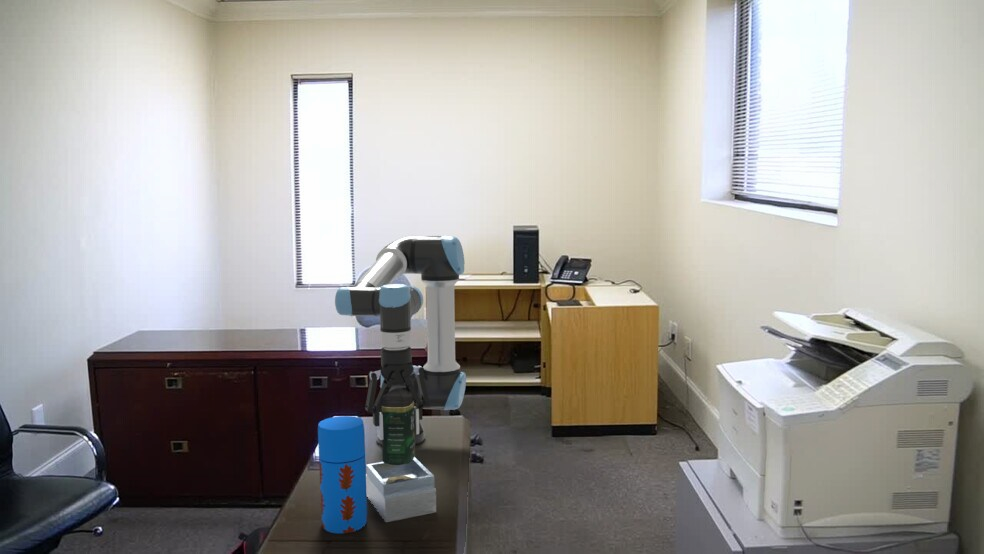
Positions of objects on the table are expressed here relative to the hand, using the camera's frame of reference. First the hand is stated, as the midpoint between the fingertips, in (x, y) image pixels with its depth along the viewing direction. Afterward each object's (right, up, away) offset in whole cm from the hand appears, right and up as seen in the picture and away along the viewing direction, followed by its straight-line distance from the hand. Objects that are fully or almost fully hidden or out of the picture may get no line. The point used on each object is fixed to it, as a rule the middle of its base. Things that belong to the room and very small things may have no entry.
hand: (398, 435), depth 192 cm
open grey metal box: (0, -18, +2) cm, 18 cm away
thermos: (-12, -20, -8) cm, 24 cm away
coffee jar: (0, -7, +1) cm, 7 cm away
